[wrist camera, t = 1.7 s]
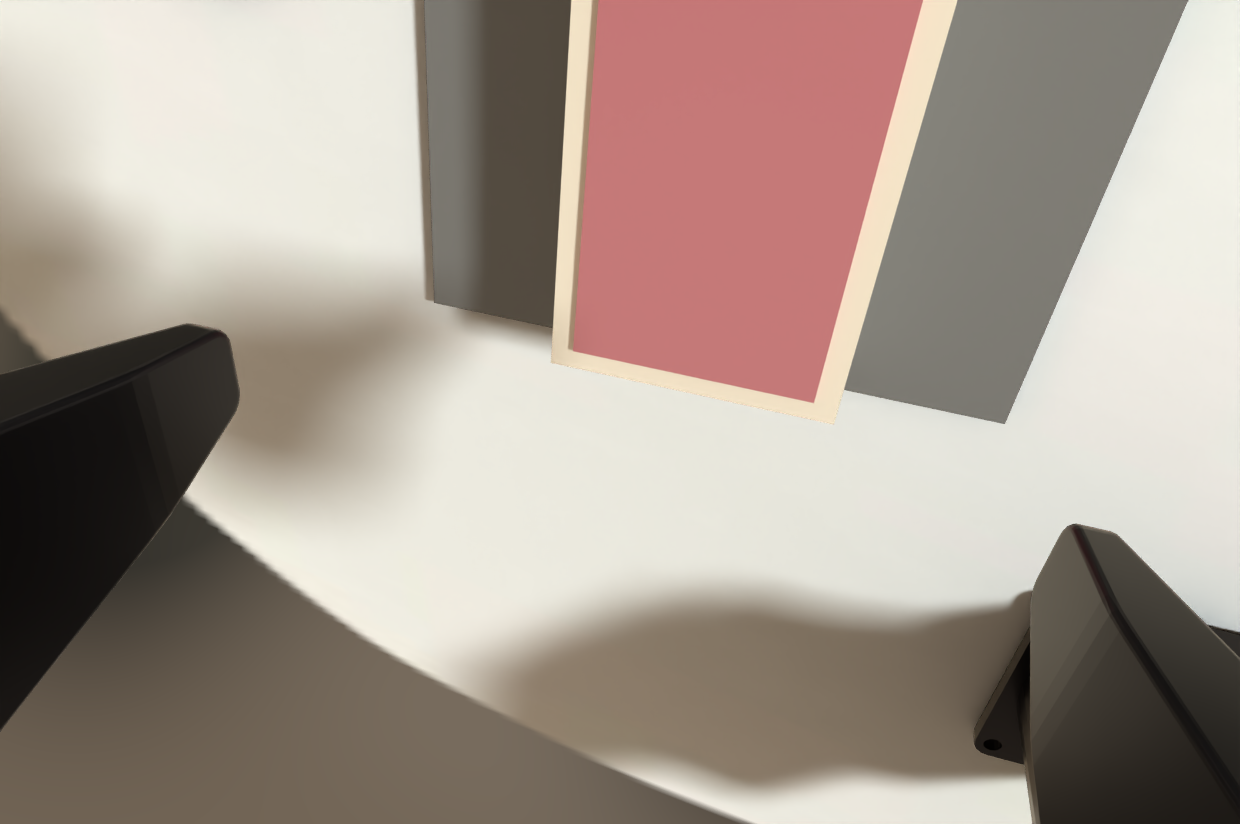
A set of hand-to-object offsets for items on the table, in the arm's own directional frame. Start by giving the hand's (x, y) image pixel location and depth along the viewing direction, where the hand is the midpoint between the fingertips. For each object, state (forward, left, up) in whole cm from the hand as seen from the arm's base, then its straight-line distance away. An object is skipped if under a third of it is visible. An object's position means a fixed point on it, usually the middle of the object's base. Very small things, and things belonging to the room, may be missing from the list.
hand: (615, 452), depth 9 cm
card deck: (0, 0, -11) cm, 11 cm away
